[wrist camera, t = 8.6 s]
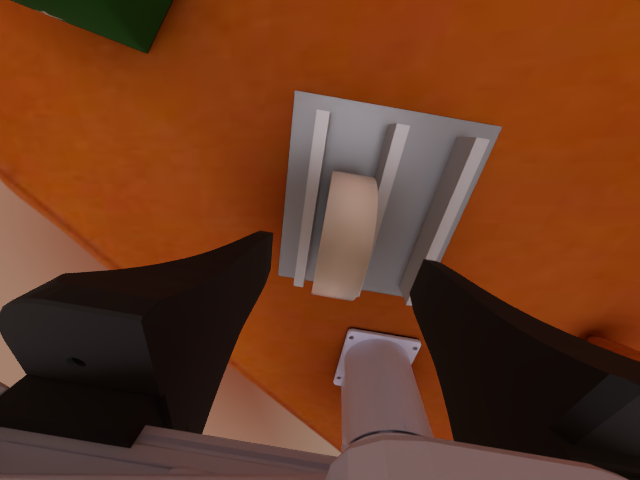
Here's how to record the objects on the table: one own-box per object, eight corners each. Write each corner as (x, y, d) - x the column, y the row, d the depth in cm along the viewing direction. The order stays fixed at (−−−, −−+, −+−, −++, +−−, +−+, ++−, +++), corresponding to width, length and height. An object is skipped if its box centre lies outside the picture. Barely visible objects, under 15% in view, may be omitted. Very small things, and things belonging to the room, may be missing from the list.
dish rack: (420, 295, 22) (432, 318, 20) (279, 271, 22) (271, 291, 19) (496, 127, 16) (529, 126, 13) (296, 91, 16) (287, 83, 13)
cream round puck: (344, 259, 20) (349, 329, 13) (317, 254, 20) (306, 322, 13) (366, 168, 17) (388, 196, 10) (333, 162, 17) (331, 186, 10)
